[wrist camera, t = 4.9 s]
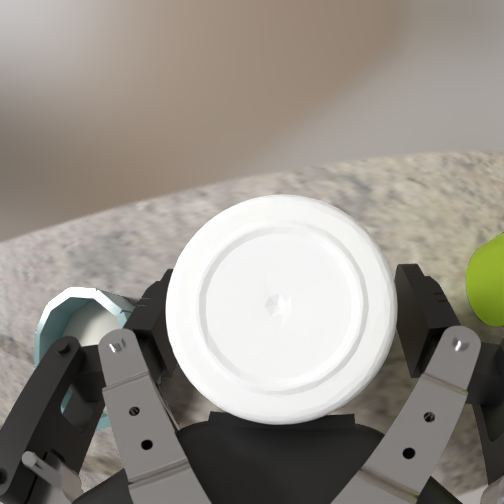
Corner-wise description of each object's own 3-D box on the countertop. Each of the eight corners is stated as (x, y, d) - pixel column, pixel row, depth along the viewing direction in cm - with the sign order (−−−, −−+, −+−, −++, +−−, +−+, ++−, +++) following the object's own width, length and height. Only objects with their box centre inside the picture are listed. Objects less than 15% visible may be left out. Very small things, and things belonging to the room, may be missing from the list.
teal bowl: (125, 444, 18) (102, 455, 15) (46, 366, 20) (21, 366, 17) (185, 343, 19) (165, 343, 16) (92, 272, 21) (67, 262, 19)
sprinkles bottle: (342, 299, 18) (419, 215, 5) (323, 373, 17) (366, 453, 4) (269, 282, 19) (198, 170, 6) (248, 354, 18) (132, 383, 5)
